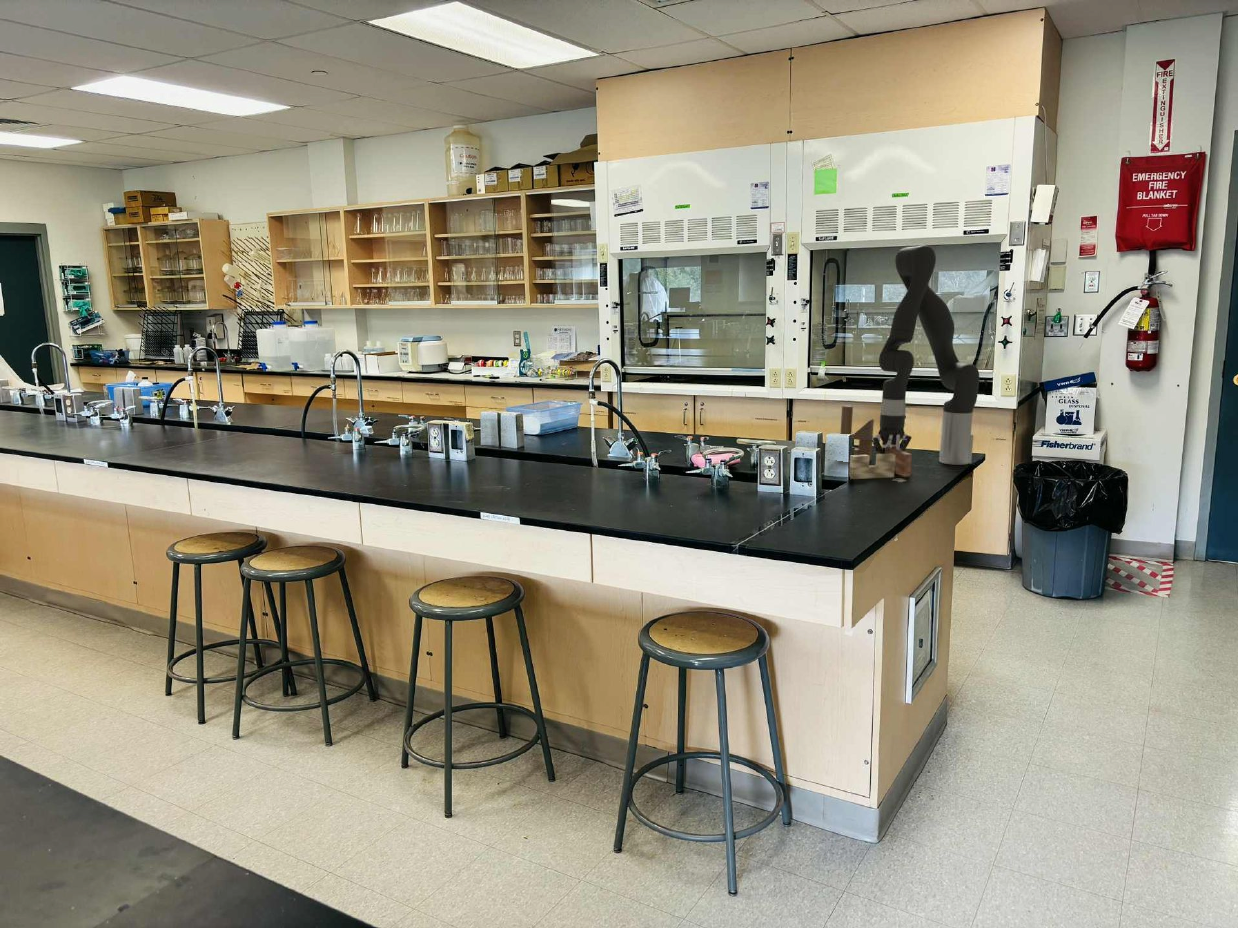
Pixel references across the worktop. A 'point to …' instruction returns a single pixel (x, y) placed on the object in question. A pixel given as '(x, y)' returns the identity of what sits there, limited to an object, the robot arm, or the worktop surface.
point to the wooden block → (858, 432)
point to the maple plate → (872, 466)
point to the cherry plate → (901, 462)
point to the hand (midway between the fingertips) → (889, 466)
